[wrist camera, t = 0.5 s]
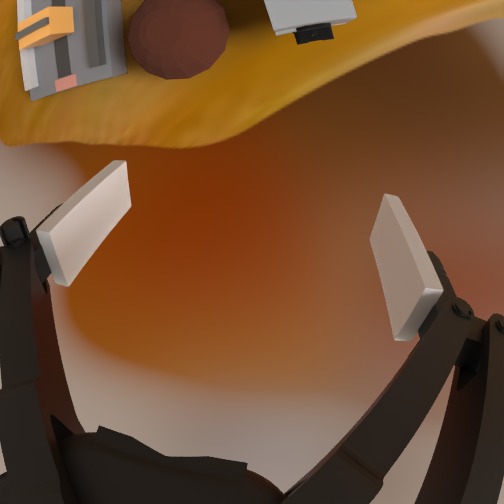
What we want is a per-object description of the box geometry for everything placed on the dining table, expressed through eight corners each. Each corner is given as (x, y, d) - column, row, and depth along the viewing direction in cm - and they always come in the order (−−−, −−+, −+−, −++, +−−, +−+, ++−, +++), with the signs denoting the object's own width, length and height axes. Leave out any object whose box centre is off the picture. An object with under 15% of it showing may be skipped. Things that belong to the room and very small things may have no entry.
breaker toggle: (41, 21, 26) (14, 24, 21) (72, 6, 25) (45, 6, 21) (43, 45, 28) (16, 50, 24) (74, 32, 27) (46, 34, 23)
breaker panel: (38, -10, 25) (14, -10, 21) (120, -48, 23) (98, -55, 19) (47, 95, 37) (24, 104, 33) (127, 73, 35) (106, 78, 31)
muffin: (139, 57, 34) (99, 64, 26) (171, -14, 27) (136, -28, 19) (217, 87, 36) (193, 99, 28) (255, 14, 29) (242, 2, 21)
